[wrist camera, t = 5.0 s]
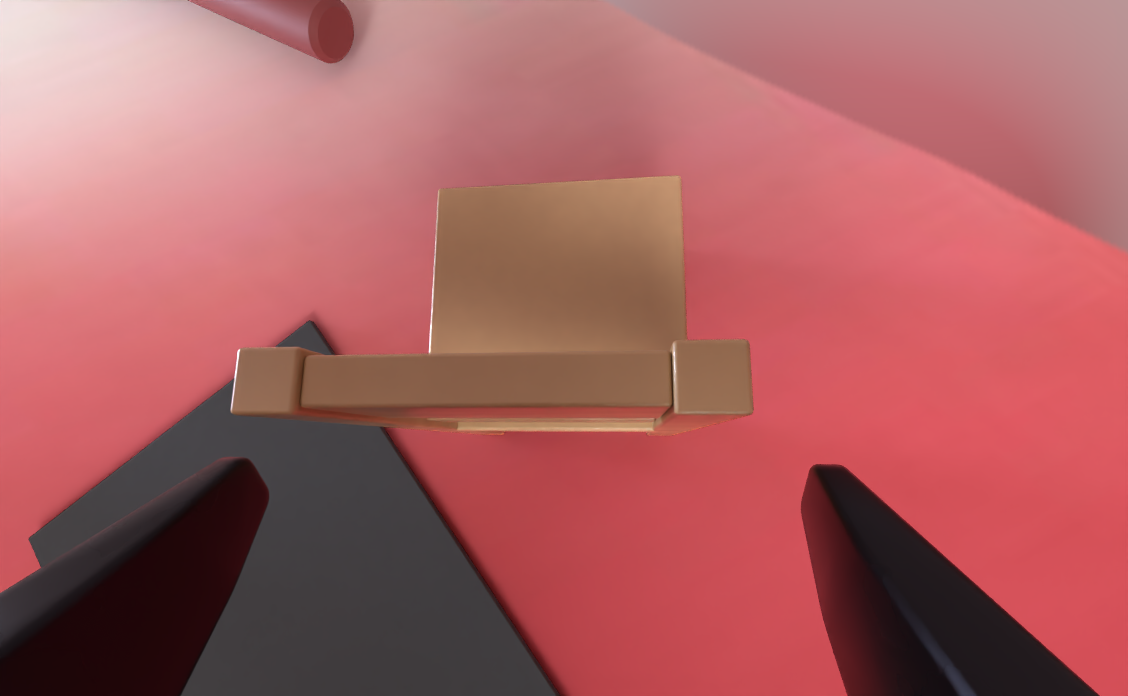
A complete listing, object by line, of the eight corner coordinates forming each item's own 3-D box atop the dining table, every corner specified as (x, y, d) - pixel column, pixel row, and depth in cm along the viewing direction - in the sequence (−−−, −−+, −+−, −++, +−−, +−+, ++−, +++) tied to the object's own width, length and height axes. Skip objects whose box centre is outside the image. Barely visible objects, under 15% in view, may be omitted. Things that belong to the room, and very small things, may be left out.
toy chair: (674, 435, 17) (755, 415, 6) (479, 434, 18) (227, 415, 7) (668, 246, 18) (726, -68, 7) (486, 253, 19) (281, -19, 8)
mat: (656, 840, 15) (657, 848, 15) (300, 1127, 15) (294, 1140, 15) (313, 321, 20) (309, 319, 19) (37, 537, 19) (27, 538, 19)
